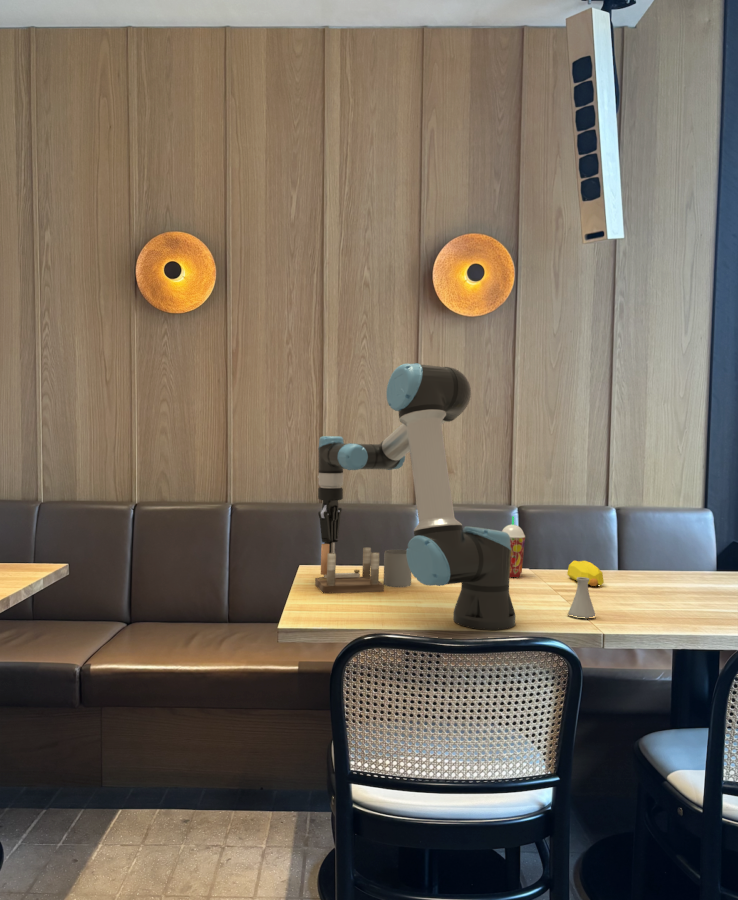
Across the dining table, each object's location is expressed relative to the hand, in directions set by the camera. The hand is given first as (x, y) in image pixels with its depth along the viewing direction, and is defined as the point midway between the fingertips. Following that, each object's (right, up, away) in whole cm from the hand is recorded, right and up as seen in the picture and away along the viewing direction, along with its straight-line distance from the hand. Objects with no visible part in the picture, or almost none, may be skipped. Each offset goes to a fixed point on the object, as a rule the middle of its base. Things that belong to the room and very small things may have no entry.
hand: (329, 563), depth 212 cm
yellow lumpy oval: (+82, -9, +12) cm, 83 cm away
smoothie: (+59, -8, +19) cm, 62 cm away
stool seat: (+6, -6, -7) cm, 11 cm away
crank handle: (+3, -4, -3) cm, 6 cm away
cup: (+21, -7, +1) cm, 22 cm away
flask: (+67, -9, -32) cm, 75 cm away
